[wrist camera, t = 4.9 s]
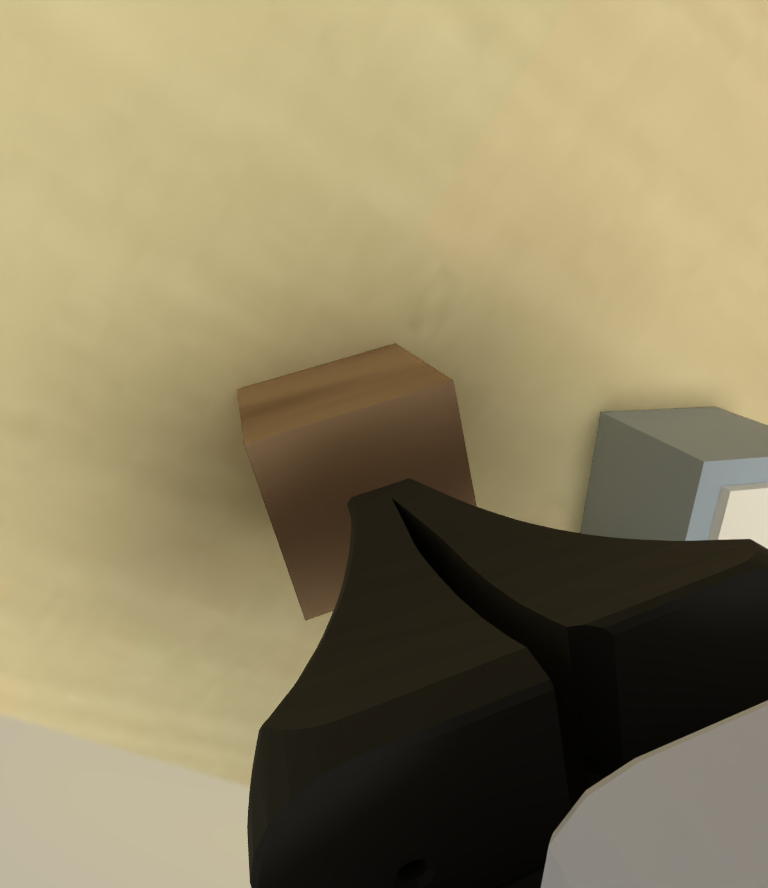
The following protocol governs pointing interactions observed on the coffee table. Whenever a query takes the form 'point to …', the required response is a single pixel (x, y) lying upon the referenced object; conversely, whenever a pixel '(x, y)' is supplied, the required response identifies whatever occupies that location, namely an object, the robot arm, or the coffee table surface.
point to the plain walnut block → (347, 453)
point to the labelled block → (678, 476)
